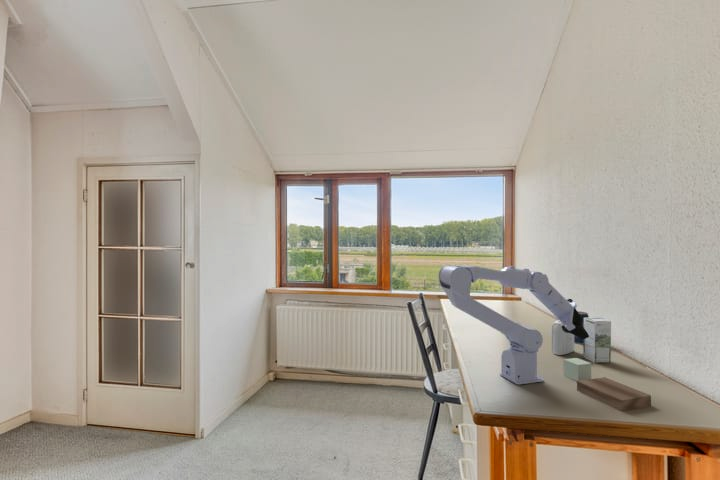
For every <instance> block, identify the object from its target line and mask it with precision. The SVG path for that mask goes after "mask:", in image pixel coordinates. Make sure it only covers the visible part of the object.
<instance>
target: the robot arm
mask: <svg viewBox="0 0 720 480" xmlns="http://www.w3.org/2000/svg"><path fill="white" fill-rule="evenodd" d="M477 280H487V281H488V280H489V281H497V282H499V284H500V285H501V286H503V287H506V288H507V287H509V288H515V289H521V290H528V291H529V292H530V293H531V294H532V295H533V296H535V298H536V299H537V300H538V301H539V302H540V303H541V304H542V305H543V306H545V308H546V309H547V310H549V311H550V312H551V313H552V314H553V316H554V317H555V318H556V319H557V320H559V321H561V322H562V323H563V324H564V325H563V326H561V327H562V330H563V331H564V332H566V333H571V334H573V335H575V336H577V337H579V338H581V339H583V340H584V339H586V338H588V337H589V335H588V333H587V332H586V330H585V329H584V328H583V326H582V323H581V321H582V318H581V316H580V315H579V313H578V312H577V311H578V310H577V309H576V308H577V303H576V302H575V301H574V300H573V299H572V298H568V299H566V298H565V296H563V295H562V293H560V292H559V291H558V289H556V288H555V287H554V286H553V285H552V284H551V283H550V281H549V277H548V275H547V274H546V273H545V274H544V273H543V272H540V271H534V270H530V269H529V268H525V267H524V268H523V269H520V268H516V266H514V265H508V266H505V267H502V268H501V269H500V270H497V269H493V268H486V267H482V266H481V267H480V266H476V265H463V264H460V265H459V264H458V265H455V266H454V265H451V264H446V265H444V266H442V267H441V268H440V269H439V271H438V281H439V282H438V283H439V286H440V287H441V289H443V291H444V293H445V295H446V297H447V298H448V300H449V301H450V303H451V305H452V306H453V307H454V308H457V310H460V311H462V312H464V313H465V314H467V315H469V316H470V317H472V318H474V319H476V320H478V321H480V322H482V323H483V324H485V325H487V326H489V327H491V328H492V329H495V330H496V331H497V332H499V333H500V334H502V335H504V337H506V339H507V340H508V341H509V348H508V349H504V350H502V353H501V358H500V359H501V360H500V361H501V363H500V364H501V372H500V373H499V375H500V376H501V377H503V378H505V379H507V380H509V381H510V382H512V383H514V384H515V385H519V386H520V385H527V384H534V383H539V382H540V383H541V382H542V383H543V382H544V381H545V379H544V378H542V377H540V376H538V352H539V349H540V348H541V347H542V345H543V342H544V341H543V340H544V338H543V334H542V333H541V332H540V331H539V330H537V329H535V328H530V327H528V326H526V325H523V324H521V323H519V322H515V321H513V320H511V319H509V318H508V317H506V316H505V315H502V314H501V313H499V312H497V311H495V310H494V309H492V308H490V307H488V306H486V305H485V304H483V303H481V302H479V301H477V300H476V299H474V298H472V297H471V287H472V284H474V283H475V282H476V281H477Z"/></svg>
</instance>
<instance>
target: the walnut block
mask: <svg viewBox="0 0 720 480" xmlns="http://www.w3.org/2000/svg"><path fill="white" fill-rule="evenodd" d="M576 391H578V392H579V393H581V394H584V395H585V396H588V397H590V398H592V399H594V400H596V401H599V402H601V403H603V404H605V405H607V406H609V407H611V408H613V409H615V410H618V411H619V412H620V411H621V412H623V411H624V412H625V411H629V410H634V409H640V408H645V407H651V406H652V395H651V394H648V393H646V392H644V391H640V390H639V389H635V388H633V387H630V386H628V385H626V384H622V383H620V382H618V381H615V380H613V379H610V378H607V377H605V376H604V377H596V378H591V379H589V380H582V381H576Z"/></svg>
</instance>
